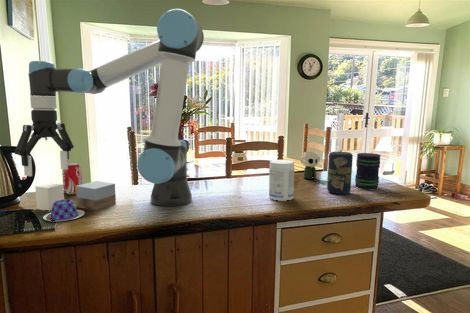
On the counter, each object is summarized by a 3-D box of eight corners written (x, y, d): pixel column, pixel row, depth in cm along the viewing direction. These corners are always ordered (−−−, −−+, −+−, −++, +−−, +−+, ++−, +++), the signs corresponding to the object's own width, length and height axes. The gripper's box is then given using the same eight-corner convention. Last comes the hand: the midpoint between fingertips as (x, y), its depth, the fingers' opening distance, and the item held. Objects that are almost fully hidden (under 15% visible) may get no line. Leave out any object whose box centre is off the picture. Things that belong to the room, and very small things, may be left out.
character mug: (304, 180, 168) (305, 154, 166) (296, 177, 174) (297, 152, 172) (323, 179, 172) (324, 153, 170) (314, 176, 178) (316, 151, 176)
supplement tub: (286, 194, 142) (287, 158, 140) (298, 200, 133) (299, 162, 131) (264, 196, 139) (265, 160, 137) (275, 202, 130) (276, 163, 128)
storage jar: (380, 186, 157) (382, 154, 155) (375, 191, 149) (378, 156, 147) (357, 184, 162) (359, 152, 160) (352, 188, 154) (354, 154, 152)
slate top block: (115, 194, 125) (114, 183, 124) (95, 200, 117) (94, 188, 116) (97, 191, 129) (97, 180, 128) (76, 196, 121) (76, 185, 120)
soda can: (75, 195, 137) (73, 165, 135) (59, 194, 138) (57, 164, 136) (86, 191, 143) (85, 162, 142) (71, 190, 145) (69, 161, 143)
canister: (325, 193, 144) (327, 150, 141) (328, 188, 152) (330, 148, 150) (349, 196, 140) (352, 152, 137) (351, 191, 149) (353, 149, 146)
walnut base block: (115, 204, 126) (115, 194, 125) (96, 211, 118) (96, 200, 117) (97, 201, 130) (96, 191, 129) (77, 208, 122) (76, 197, 121)
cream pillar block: (64, 206, 122) (63, 184, 121) (49, 211, 117) (47, 188, 115) (52, 204, 124) (51, 182, 123) (37, 209, 119) (35, 186, 118)
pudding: (78, 222, 107) (77, 206, 106) (36, 224, 105) (35, 207, 104) (89, 211, 118) (88, 196, 118) (51, 212, 117) (50, 196, 116)
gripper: (67, 109, 128) (70, 165, 131) (-2, 109, 106) (3, 177, 109) (82, 109, 125) (84, 167, 128) (14, 110, 103) (19, 180, 106)
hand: (47, 172), depth 119 cm, fingers open, 13 cm apart
